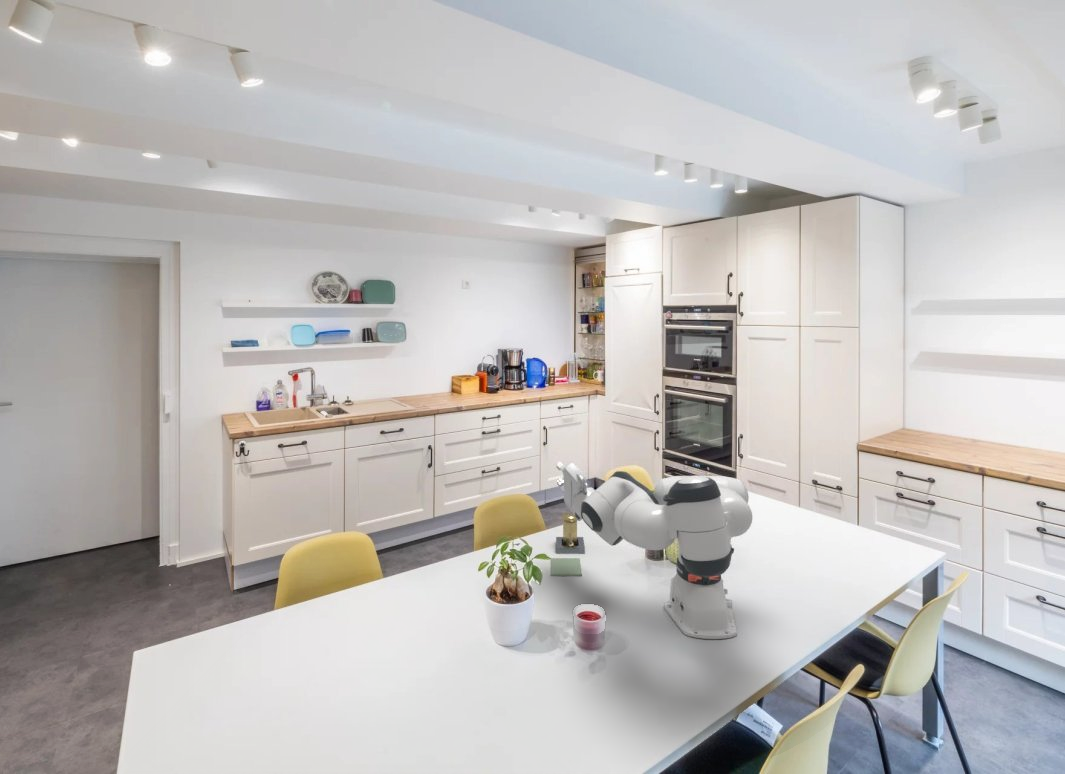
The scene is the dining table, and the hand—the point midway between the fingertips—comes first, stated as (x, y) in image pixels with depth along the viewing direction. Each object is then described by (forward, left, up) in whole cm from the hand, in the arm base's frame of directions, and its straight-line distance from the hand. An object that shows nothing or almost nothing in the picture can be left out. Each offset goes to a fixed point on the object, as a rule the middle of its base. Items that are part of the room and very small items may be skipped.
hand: (558, 472), depth 176 cm
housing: (+18, -4, -34) cm, 38 cm away
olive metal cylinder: (+18, -4, -33) cm, 38 cm away
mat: (+3, -2, -34) cm, 34 cm away
